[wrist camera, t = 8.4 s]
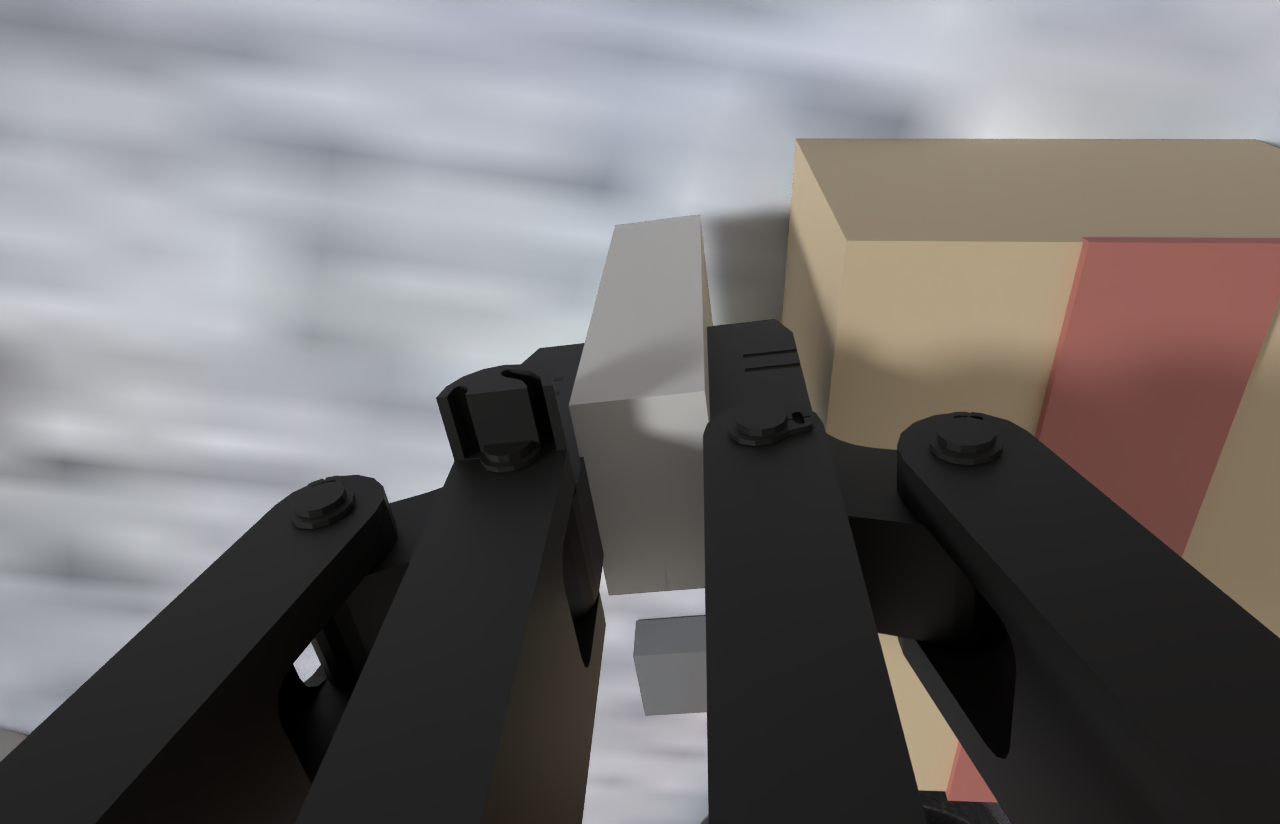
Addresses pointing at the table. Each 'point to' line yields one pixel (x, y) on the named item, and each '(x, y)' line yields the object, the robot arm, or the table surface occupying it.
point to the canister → (947, 810)
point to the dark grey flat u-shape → (671, 665)
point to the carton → (1056, 334)
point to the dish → (9, 742)
